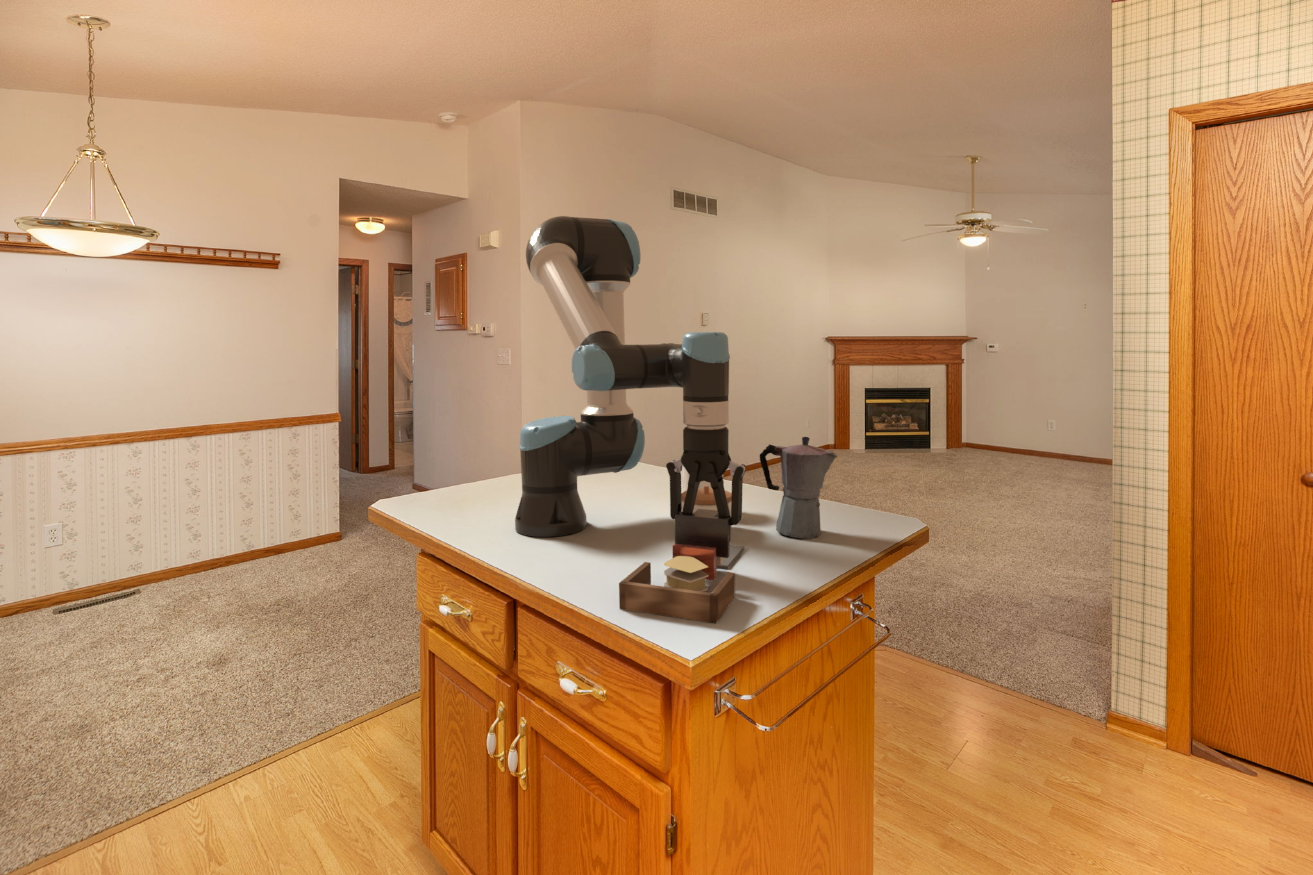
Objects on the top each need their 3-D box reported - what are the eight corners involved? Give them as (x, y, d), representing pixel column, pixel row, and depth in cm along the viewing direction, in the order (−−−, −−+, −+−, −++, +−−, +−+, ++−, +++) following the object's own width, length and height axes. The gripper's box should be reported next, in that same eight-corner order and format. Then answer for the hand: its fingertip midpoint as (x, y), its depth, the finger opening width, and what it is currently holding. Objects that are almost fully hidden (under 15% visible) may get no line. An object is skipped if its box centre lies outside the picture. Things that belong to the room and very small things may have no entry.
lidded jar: (718, 540, 132) (718, 494, 130) (671, 532, 137) (671, 488, 136) (740, 527, 141) (741, 484, 139) (696, 520, 146) (696, 479, 145)
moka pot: (836, 541, 130) (839, 441, 127) (757, 538, 133) (758, 439, 130) (833, 528, 139) (836, 433, 136) (759, 525, 142) (760, 432, 139)
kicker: (666, 574, 109) (666, 521, 107) (684, 557, 117) (684, 507, 116) (720, 581, 105) (720, 526, 104) (735, 562, 114) (735, 512, 113)
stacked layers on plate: (728, 599, 103) (728, 565, 102) (687, 615, 97) (686, 579, 96) (684, 581, 111) (684, 550, 110) (643, 595, 105) (642, 562, 104)
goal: (619, 608, 99) (619, 583, 98) (645, 585, 108) (644, 561, 108) (716, 623, 93) (716, 596, 93) (734, 597, 103) (734, 572, 102)
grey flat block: (694, 565, 117) (694, 561, 117) (713, 546, 128) (713, 543, 128) (727, 569, 115) (727, 565, 115) (743, 549, 126) (743, 546, 126)
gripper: (648, 426, 110) (649, 562, 113) (752, 431, 103) (751, 574, 107) (664, 421, 117) (665, 549, 120) (763, 425, 110) (761, 560, 114)
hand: (705, 560), depth 113 cm, fingers open, 4 cm apart
